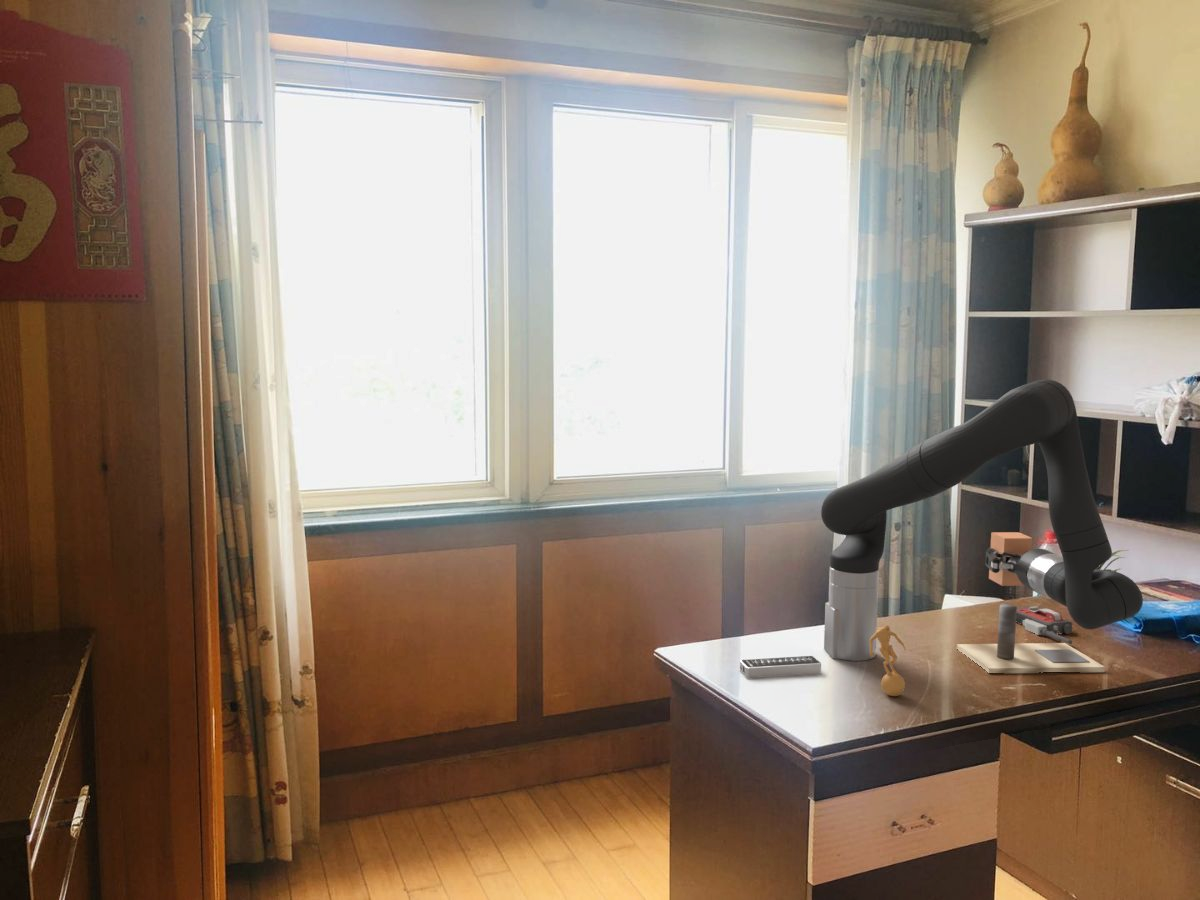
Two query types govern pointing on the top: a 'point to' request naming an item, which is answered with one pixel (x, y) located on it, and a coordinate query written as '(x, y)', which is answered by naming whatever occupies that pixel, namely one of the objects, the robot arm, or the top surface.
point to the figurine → (891, 681)
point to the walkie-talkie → (1044, 622)
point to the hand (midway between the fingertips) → (1004, 553)
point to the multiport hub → (780, 666)
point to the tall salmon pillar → (1009, 544)
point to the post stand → (1025, 652)
